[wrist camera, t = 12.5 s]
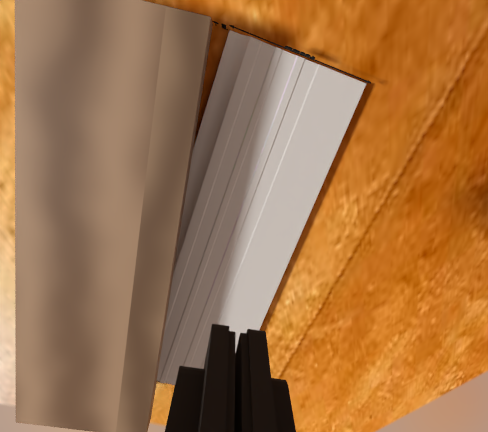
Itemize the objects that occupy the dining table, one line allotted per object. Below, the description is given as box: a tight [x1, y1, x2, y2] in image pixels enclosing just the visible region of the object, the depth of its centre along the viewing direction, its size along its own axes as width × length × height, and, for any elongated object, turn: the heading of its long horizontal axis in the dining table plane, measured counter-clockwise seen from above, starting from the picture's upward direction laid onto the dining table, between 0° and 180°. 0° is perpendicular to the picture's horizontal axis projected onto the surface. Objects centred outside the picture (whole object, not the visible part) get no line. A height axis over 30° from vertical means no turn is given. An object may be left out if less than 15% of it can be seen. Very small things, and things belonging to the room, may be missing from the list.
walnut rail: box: [15, 0, 213, 432], centre depth 26 cm, size 10×32×6 cm, turn 168°
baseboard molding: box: [157, 21, 371, 385], centre depth 28 cm, size 31×3×12 cm
